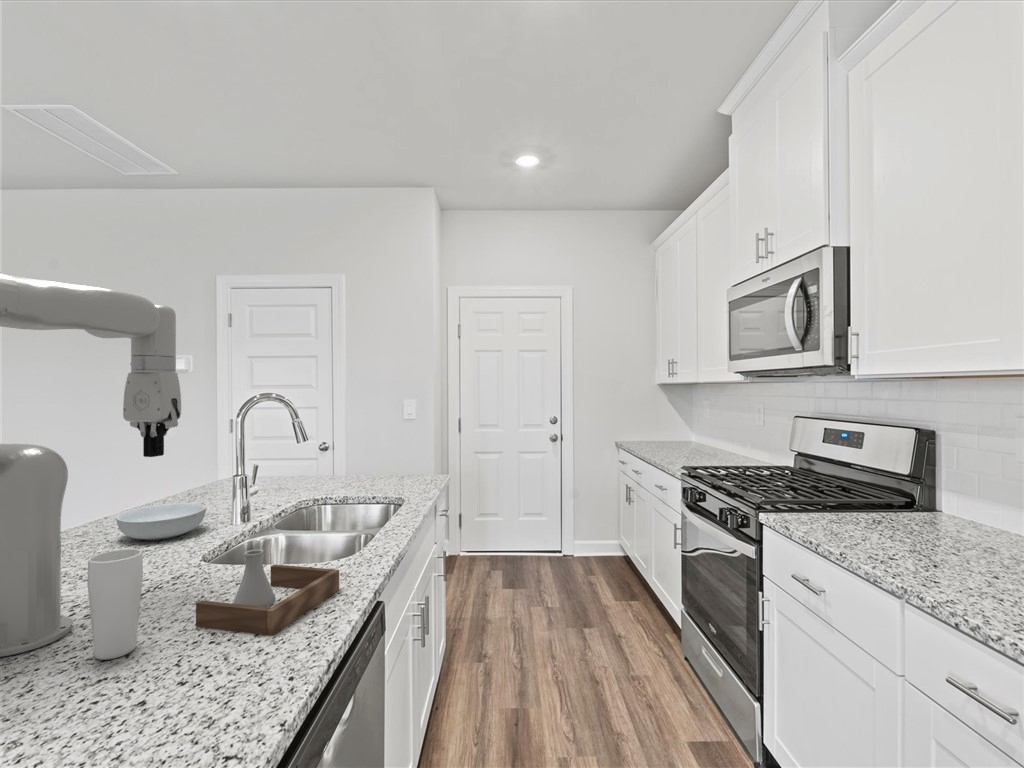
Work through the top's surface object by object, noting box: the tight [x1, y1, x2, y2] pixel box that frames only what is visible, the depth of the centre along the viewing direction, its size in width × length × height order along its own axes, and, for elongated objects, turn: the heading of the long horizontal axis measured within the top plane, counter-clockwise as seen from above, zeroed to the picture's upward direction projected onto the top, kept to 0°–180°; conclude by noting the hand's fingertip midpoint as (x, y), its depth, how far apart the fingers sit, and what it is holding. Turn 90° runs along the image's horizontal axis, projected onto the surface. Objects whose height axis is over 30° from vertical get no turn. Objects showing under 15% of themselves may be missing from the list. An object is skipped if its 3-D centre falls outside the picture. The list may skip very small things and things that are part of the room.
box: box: [195, 564, 340, 636], centre depth 97 cm, size 20×15×4 cm
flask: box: [232, 549, 276, 607], centre depth 98 cm, size 7×7×10 cm
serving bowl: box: [115, 502, 207, 541], centre depth 145 cm, size 21×21×7 cm
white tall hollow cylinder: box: [87, 548, 144, 661], centre depth 80 cm, size 7×7×15 cm
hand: (153, 455), depth 105 cm, fingers closed
